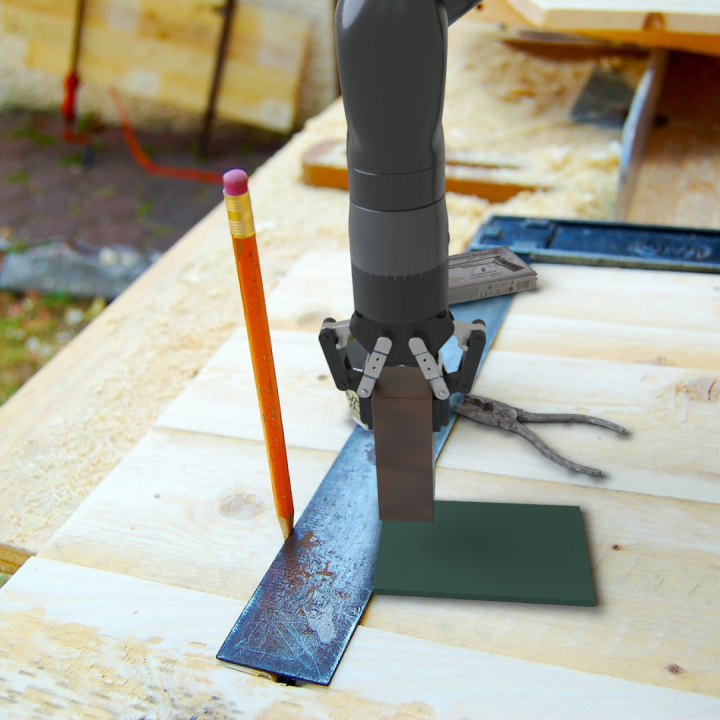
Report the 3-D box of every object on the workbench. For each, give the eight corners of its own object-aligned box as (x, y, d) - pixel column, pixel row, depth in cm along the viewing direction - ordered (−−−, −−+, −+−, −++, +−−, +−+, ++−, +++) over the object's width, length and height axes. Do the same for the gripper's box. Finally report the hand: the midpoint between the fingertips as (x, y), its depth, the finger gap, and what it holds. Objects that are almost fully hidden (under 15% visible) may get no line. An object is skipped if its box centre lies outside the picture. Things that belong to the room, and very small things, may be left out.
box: (407, 279, 123) (407, 261, 121) (505, 260, 127) (506, 243, 125) (433, 310, 114) (434, 292, 112) (537, 290, 118) (539, 272, 117)
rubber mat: (578, 511, 79) (579, 505, 78) (594, 606, 69) (595, 600, 68) (385, 503, 81) (385, 497, 81) (373, 594, 72) (372, 588, 71)
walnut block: (435, 485, 74) (434, 366, 67) (433, 522, 70) (431, 400, 63) (384, 483, 75) (377, 365, 67) (379, 520, 71) (371, 398, 63)
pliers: (617, 474, 81) (437, 438, 88) (616, 480, 82) (437, 443, 89) (627, 421, 89) (460, 391, 96) (626, 427, 89) (460, 396, 96)
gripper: (297, 272, 56) (318, 450, 65) (495, 272, 54) (488, 456, 64) (315, 230, 62) (332, 398, 72) (493, 229, 60) (486, 402, 70)
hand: (405, 424), depth 68 cm, fingers closed on walnut block, 5 cm apart
